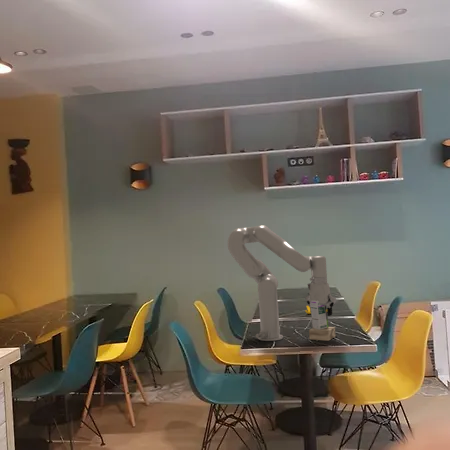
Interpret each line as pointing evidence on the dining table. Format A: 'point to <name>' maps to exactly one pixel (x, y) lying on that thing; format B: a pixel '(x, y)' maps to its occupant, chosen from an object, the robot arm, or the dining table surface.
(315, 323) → the syrup box
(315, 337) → the beech block
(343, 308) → the dining table surface
